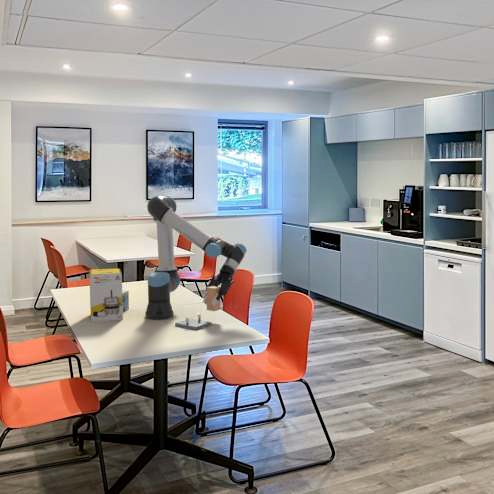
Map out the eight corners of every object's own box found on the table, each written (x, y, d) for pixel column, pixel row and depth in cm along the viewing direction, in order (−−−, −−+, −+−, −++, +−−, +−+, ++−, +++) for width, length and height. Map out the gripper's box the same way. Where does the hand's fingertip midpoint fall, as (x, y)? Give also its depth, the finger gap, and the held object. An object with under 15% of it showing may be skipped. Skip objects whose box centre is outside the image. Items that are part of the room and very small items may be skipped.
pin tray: (175, 325, 307) (175, 316, 306) (191, 321, 316) (190, 311, 316) (196, 330, 299) (196, 320, 298) (211, 325, 308) (211, 315, 308)
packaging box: (91, 321, 316) (89, 274, 313) (90, 314, 331) (89, 269, 328) (122, 319, 320) (121, 273, 317) (120, 312, 336) (119, 268, 333)
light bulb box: (121, 313, 335) (121, 293, 334) (110, 312, 337) (110, 293, 336) (129, 308, 346) (128, 290, 345) (118, 308, 347) (117, 289, 346)
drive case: (206, 309, 315) (206, 287, 314) (212, 308, 319) (213, 285, 318) (213, 311, 312) (214, 288, 311) (220, 309, 316) (220, 287, 315)
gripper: (245, 274, 321) (225, 310, 310) (218, 271, 331) (198, 305, 320) (239, 266, 316) (219, 302, 305) (212, 262, 326) (192, 297, 315)
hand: (208, 303), depth 312 cm, fingers closed on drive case, 5 cm apart
